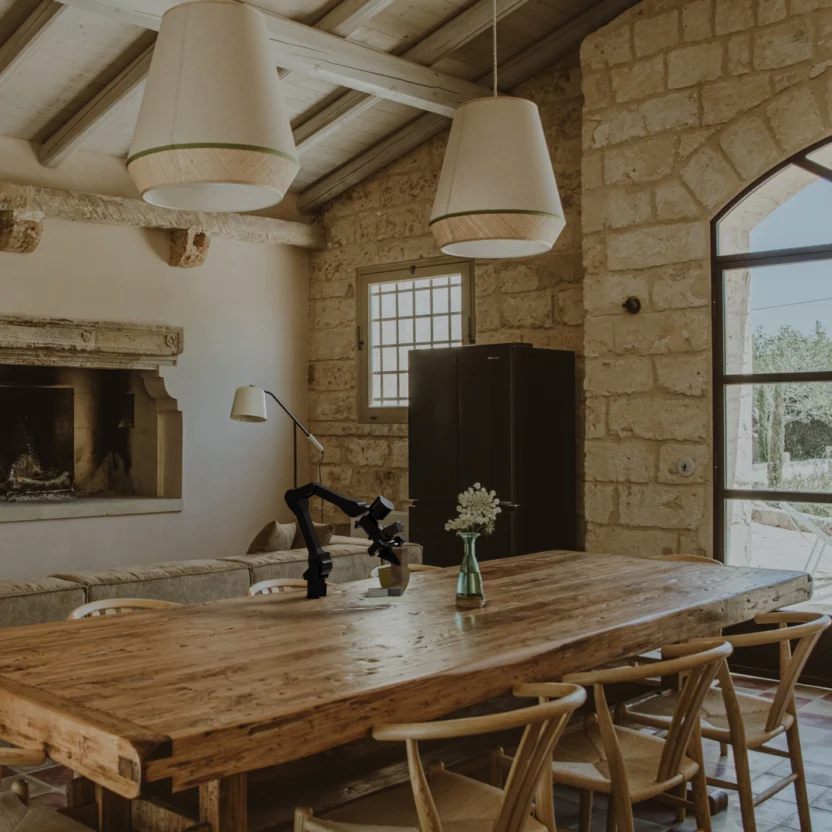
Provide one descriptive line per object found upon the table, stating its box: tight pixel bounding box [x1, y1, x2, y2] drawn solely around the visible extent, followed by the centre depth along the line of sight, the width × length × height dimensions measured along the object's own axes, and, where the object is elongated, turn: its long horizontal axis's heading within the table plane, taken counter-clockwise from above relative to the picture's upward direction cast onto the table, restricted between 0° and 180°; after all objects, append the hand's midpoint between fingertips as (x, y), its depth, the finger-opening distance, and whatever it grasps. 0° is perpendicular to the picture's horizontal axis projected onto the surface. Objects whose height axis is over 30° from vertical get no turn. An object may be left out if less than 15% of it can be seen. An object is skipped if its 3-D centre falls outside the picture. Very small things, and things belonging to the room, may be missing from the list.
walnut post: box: [390, 546, 409, 585], centre depth 336 cm, size 4×4×12 cm
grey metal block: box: [367, 587, 388, 597], centre depth 350 cm, size 6×4×2 cm, turn 106°
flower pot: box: [377, 565, 412, 592], centre depth 360 cm, size 9×9×9 cm
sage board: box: [367, 593, 412, 603], centre depth 346 cm, size 14×16×1 cm
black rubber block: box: [387, 587, 404, 596], centre depth 351 cm, size 5×4×2 cm
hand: (402, 564), depth 335 cm, fingers closed on walnut post, 4 cm apart
